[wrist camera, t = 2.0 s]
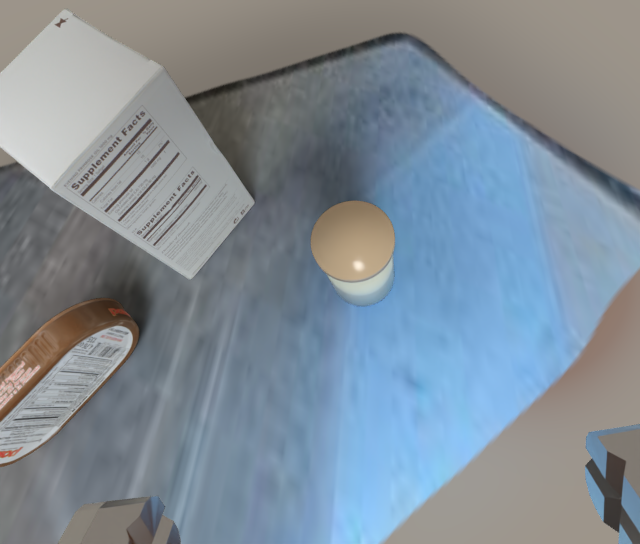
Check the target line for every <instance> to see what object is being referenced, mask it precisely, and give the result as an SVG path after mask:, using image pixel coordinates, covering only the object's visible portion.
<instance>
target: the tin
mask: <svg viewBox="0 0 640 544" xmlns="http://www.w3.org/2000/svg"><path fill="white" fill-rule="evenodd" d="M138 339H139V328H138V326H137V324H136V322H135V321H134V320H133V318H132V317H131V316H130V315H129V314H128V313H127V312H126V311H125V310H124V308H123V306H122V305H121V304H120V303H119V302H118V301H116V300H114V299H110V298H96V299H91V300H87V301H84V302H81V303H78V304H76V305H74V306H72V307H70V308H68V309H66V310H64V311H62V312H61V313H59V314H57V315H56V316H54V317H53V318H51V319H50V320H49V321H47V322H46V323H45V324H44V325H43V326H41V327H40V328H39V329H38V330H37V331H36V332H35V333H34V334H33V335H32V336H31V337H30V338H29V339H28V340H27V341H26V342H25V343H24V344H23V345H22V346H21V347H20V348H19V349H18V350H17V351H16V352H15V353H14V354H13V355H12V356H11V357H10V358H9V359H8V360H7V361H6V362H5V363H4V364H3V365H2V366H1V367H0V467H3V466H7V465H10V464H13V463H15V462H17V461H19V460H21V459H22V458H24V457H26V456H27V455H29V454H31V453H32V452H34V451H35V450H37V449H38V448H40V447H41V446H42V445H44V444H45V443H46V442H48V441H49V440H50V439H51V438H52V437H54V436H55V435H56V434H57V433H58V432H59V431H60V430H61V429H62V428H63V427H64V426H65V425H66V424H67V423H68V422H69V421H70V420H71V419H72V418H73V416H74V415H75V414H76V413H77V412H78V411H79V410H80V409H81V408H82V407H83V406H84V405H85V404H86V403H87V402H88V401H89V400H90V399H91V398H92V397H93V396H94V395H95V394H96V392H97V391H98V390H99V389H100V388H101V387H102V386H103V385H104V384H105V383H106V382H107V381H108V380H109V379H110V378H111V377H112V376H113V374H114V373H115V372H116V371H117V370H118V369H119V368H120V367H121V366H122V365H123V364H124V363H125V361H126V360H127V359H128V358H129V356H130V355H131V354H132V352H133V350H134V349H135V347H136V345H137V342H138Z"/></svg>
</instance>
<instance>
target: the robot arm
mask: <svg viewBox="0 0 640 544" xmlns="http://www.w3.org/2000/svg"><path fill="white" fill-rule="evenodd" d="M586 449H587V451H588V452H589V454H590V455H591V457H592V459H591V460H590V461H589V462H588V463H587V464H586V466H585V474H586V483H587V486H588V490H589V494H590V496H591V499H592V501H593V504H594V506H595V508H596V510H597V512H598V514H599V515H600V517H601V519H602V521H603V522H604V523H605V524H607V525H608V526H610V527H611V528H613V529H614V530H615V531H617V532H618V533H619V544H640V424H638V425H632V426H626V427H619V428H613V429H607V430H600V431H594V432H589V433H588V435H587V437H586ZM164 509H165V505H164V504H163V502H162V501H161V499H160V498H159V496H150V497H141V498H132V499H123V500H115V501H107V502H99V503H92V504H84V505H83V506H82V507H81V508H79V509H78V510H77V511H76V512H75V514H74V516H73V517H72V519H71V521H70V523H69V524H68V526H67V528H66V530H65V531H64V533H63V535H62V537H61V539H60V540H59V542H58V544H181V540H180V535H179V531H178V528H177V526H176V525H175V523H174V521H172V520H170V519H169V518H167V517H165V516H163V512H164Z"/></svg>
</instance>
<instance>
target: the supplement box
mask: <svg viewBox="0 0 640 544" xmlns="http://www.w3.org/2000/svg"><path fill="white" fill-rule="evenodd" d="M0 148H2V149H3V150H4V151H5V152H6V153H8V154H9V155H10V156H11V157H13V158H14V159H15V160H16V161H17V162H19V163H20V164H21V165H22V166H24V167H25V168H26V169H27V170H28V171H30V172H31V173H32V174H33V175H35V176H36V177H37V178H38V179H40V180H41V181H42V182H43V183H44V184H46V185H47V186H48V187H49V188H50V189H51V190H52V191H54V192H55V193H57V194H58V195H60V196H61V197H63V198H64V199H66V200H67V201H69V202H70V203H72V204H74V205H75V206H77V207H78V208H80V209H81V210H83V211H84V212H86V213H88V214H89V215H91V216H92V217H94V218H95V219H97V220H98V221H100V222H102V223H103V224H105V225H106V226H108V227H109V228H111V229H112V230H114V231H115V232H117V233H118V234H120V235H122V236H123V237H125V238H126V239H128V240H129V241H131V242H132V243H134V244H135V245H137V246H139V247H140V248H142V249H143V250H145V251H146V252H148V253H149V254H151V255H153V256H154V257H156V258H157V259H159V260H160V261H162V262H163V263H165V264H166V265H168V266H169V267H171V268H172V269H174V270H176V271H177V272H179V273H180V274H182V275H183V276H185V277H186V278H187V279H192V278H193V277H194V276H195V275H196V274H197V272H198V271H199V270H200V269H201V268H202V266H203V265H204V264H205V263H206V262H207V260H208V259H209V258H210V257H211V256H212V254H213V253H214V252H215V251H216V250H217V248H218V247H219V246H220V245H221V244H222V242H223V241H224V240H225V239H226V237H227V236H228V235H229V234H230V233H231V231H232V230H233V229H234V228H235V227H236V225H237V224H238V223H239V222H240V221H241V219H242V218H243V217H244V216H245V214H246V213H247V212H248V211H249V210H250V208H251V207H252V206H253V205H254V203H255V201H254V199H253V198H252V197H251V195H250V194H249V192H248V191H247V189H246V188H245V187H244V185H243V184H242V182H241V181H240V179H239V178H238V176H237V175H236V173H235V172H234V170H233V169H232V167H231V166H230V164H229V163H228V161H227V160H226V158H225V157H224V156H223V154H222V153H221V152H220V150H219V149H218V148H217V146H216V145H215V144H214V142H213V140H212V139H211V137H210V136H209V134H208V132H207V131H206V129H205V128H204V126H203V124H202V123H201V121H200V120H199V118H198V117H197V115H196V114H195V112H194V111H193V109H192V108H191V106H190V105H189V103H188V102H187V100H186V99H185V97H184V96H183V95H182V93H181V92H180V90H179V89H178V87H177V86H176V84H175V83H174V81H173V80H172V78H171V77H170V75H169V74H168V72H167V71H166V69H165V67H164V66H162V65H161V64H159V63H157V62H155V61H153V60H151V59H149V58H147V57H146V56H144V55H142V54H140V53H138V52H137V51H135V50H133V49H131V48H129V47H128V46H126V45H124V44H122V43H120V42H119V41H117V40H115V39H114V38H112V37H110V36H109V35H107V34H105V33H104V32H102V31H101V30H99V29H97V28H96V27H94V26H93V25H91V24H90V23H88V22H86V21H85V20H83V19H82V18H80V17H79V16H77V15H76V14H74V13H73V12H72V11H70V10H69V9H64V10H63V11H62V12H61V13H60V14H59V15H58V16H57V17H56V18H55V19H54V20H53V21H52V22H51V23H50V24H48V25H47V26H46V27H45V29H43V30H42V31H41V33H39V35H37V36H36V37H35V38H34V39H33V41H32V42H31V43H30V44H29V45H28V46H27V47H26V48H25V49H24V50H23V51H22V52H21V53H20V54H19V55H18V56H17V57H16V58H15V59H14V60H13V61H12V62H11V63H10V64H9V65H8V66H7V67H6V68H5V69H4V70H3V71H2V72H1V73H0Z"/></svg>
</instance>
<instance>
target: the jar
mask: <svg viewBox="0 0 640 544" xmlns="http://www.w3.org/2000/svg"><path fill="white" fill-rule="evenodd" d="M394 249H395V234H394V229H393V226H392V223H391V221H390V219H389V218H388V216H387V215H386V214H385V213H384V212H383V211H382V210H381V209H380V208H378V207H376V206H375V205H373V204H370V203H367V202H363V201H347V202H342V203H339V204H337V205H334V206H333V207H331V208H329V209H328V210H327V211H325V212H324V213H323V214H322V215H321V216H320V218H319V219H318V220H317V222H316V223H315V225H314V228H313V230H312V234H311V250H312V253H313V256H314V258H315V260H316V262H317V263H318V265H319V267H320V268H321V269H322V270H323V271H324V272H325V273H326V274H327V276H328V277H329V279H330V281H331V283H332V285H333V287H334V289H335V290H336V292H337V294H338V295H339V296H340V297H341V298H342V299H343V300H344V301H346V302H347V303H349V304H352V305H355V306H370V305H374V304H376V303H378V302H380V301H381V300H383V299H384V298H385V297H386V296H387V295H388V294H389V292H390V291H391V289H392V286H393V283H394V263H393V253H394Z"/></svg>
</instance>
